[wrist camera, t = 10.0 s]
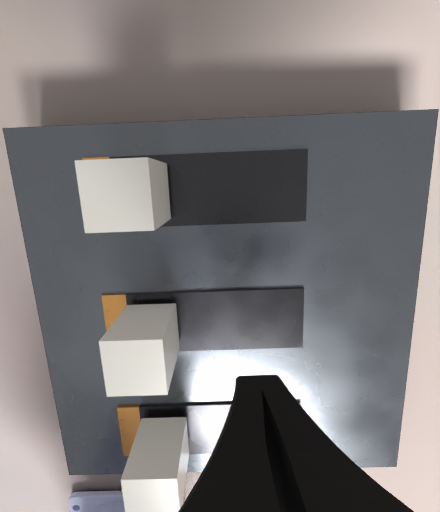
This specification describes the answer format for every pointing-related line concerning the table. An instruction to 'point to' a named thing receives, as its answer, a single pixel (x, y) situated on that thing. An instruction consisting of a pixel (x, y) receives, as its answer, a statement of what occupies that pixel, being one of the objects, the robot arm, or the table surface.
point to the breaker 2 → (157, 466)
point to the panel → (236, 271)
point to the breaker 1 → (123, 194)
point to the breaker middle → (140, 350)
